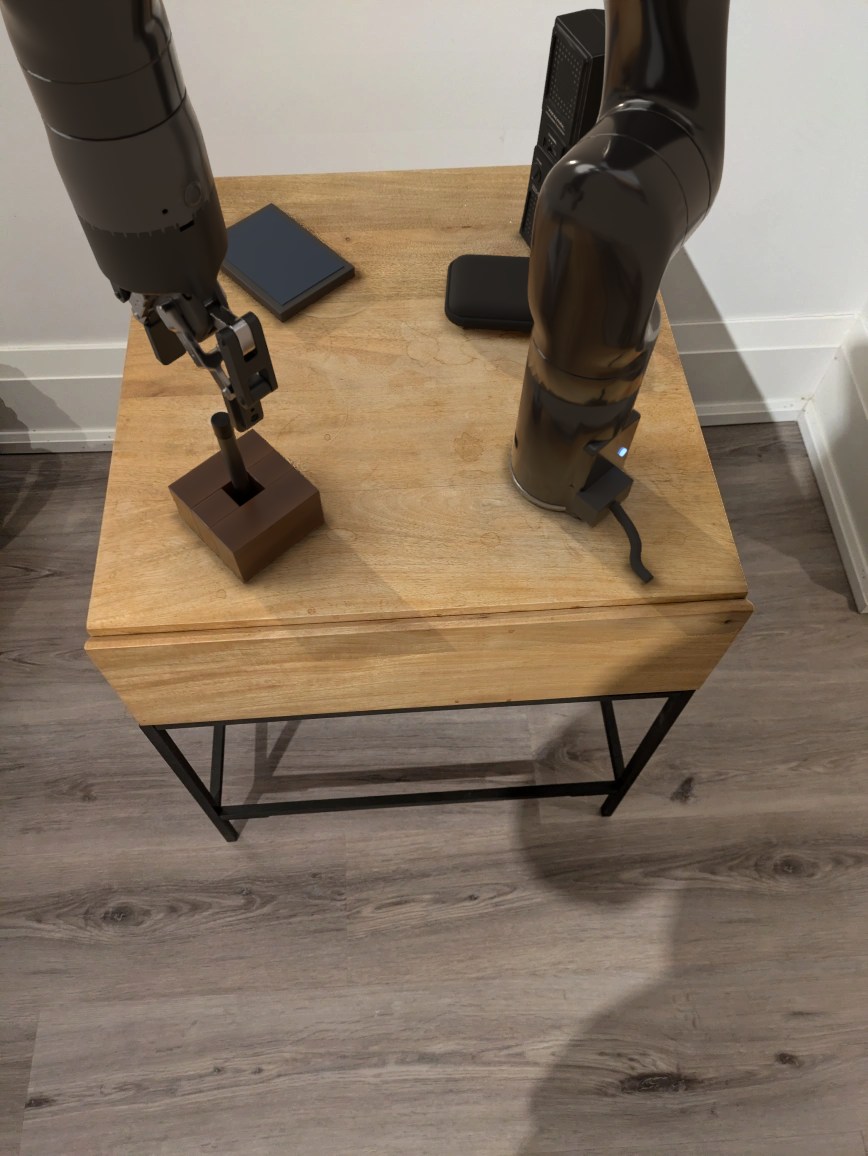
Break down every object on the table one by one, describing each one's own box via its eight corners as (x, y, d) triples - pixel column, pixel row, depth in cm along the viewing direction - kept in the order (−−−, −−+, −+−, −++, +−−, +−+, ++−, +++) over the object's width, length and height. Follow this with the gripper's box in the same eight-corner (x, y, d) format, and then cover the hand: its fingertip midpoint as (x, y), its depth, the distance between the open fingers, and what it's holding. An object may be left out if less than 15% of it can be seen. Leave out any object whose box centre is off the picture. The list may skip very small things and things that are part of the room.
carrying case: (442, 342, 86) (587, 351, 85) (442, 319, 83) (592, 328, 83) (448, 268, 91) (585, 277, 91) (449, 245, 88) (590, 253, 88)
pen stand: (325, 522, 75) (319, 490, 71) (244, 583, 72) (232, 553, 68) (262, 462, 78) (252, 427, 74) (181, 518, 75) (167, 486, 71)
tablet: (355, 276, 90) (354, 266, 89) (282, 322, 87) (280, 313, 86) (273, 211, 95) (271, 201, 94) (200, 253, 91) (197, 243, 90)
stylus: (264, 520, 75) (234, 419, 63) (251, 530, 75) (218, 430, 62) (254, 510, 76) (222, 407, 63) (240, 520, 75) (206, 418, 63)
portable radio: (511, 229, 94) (540, -18, 72) (559, 215, 95) (602, -32, 73) (543, 275, 91) (583, 30, 69) (593, 260, 92) (648, 15, 70)
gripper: (7, 153, 46) (106, 364, 60) (163, 282, 41) (232, 479, 55) (122, 95, 49) (191, 311, 63) (281, 210, 44) (318, 416, 58)
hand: (210, 389), depth 59 cm, fingers open, 8 cm apart
